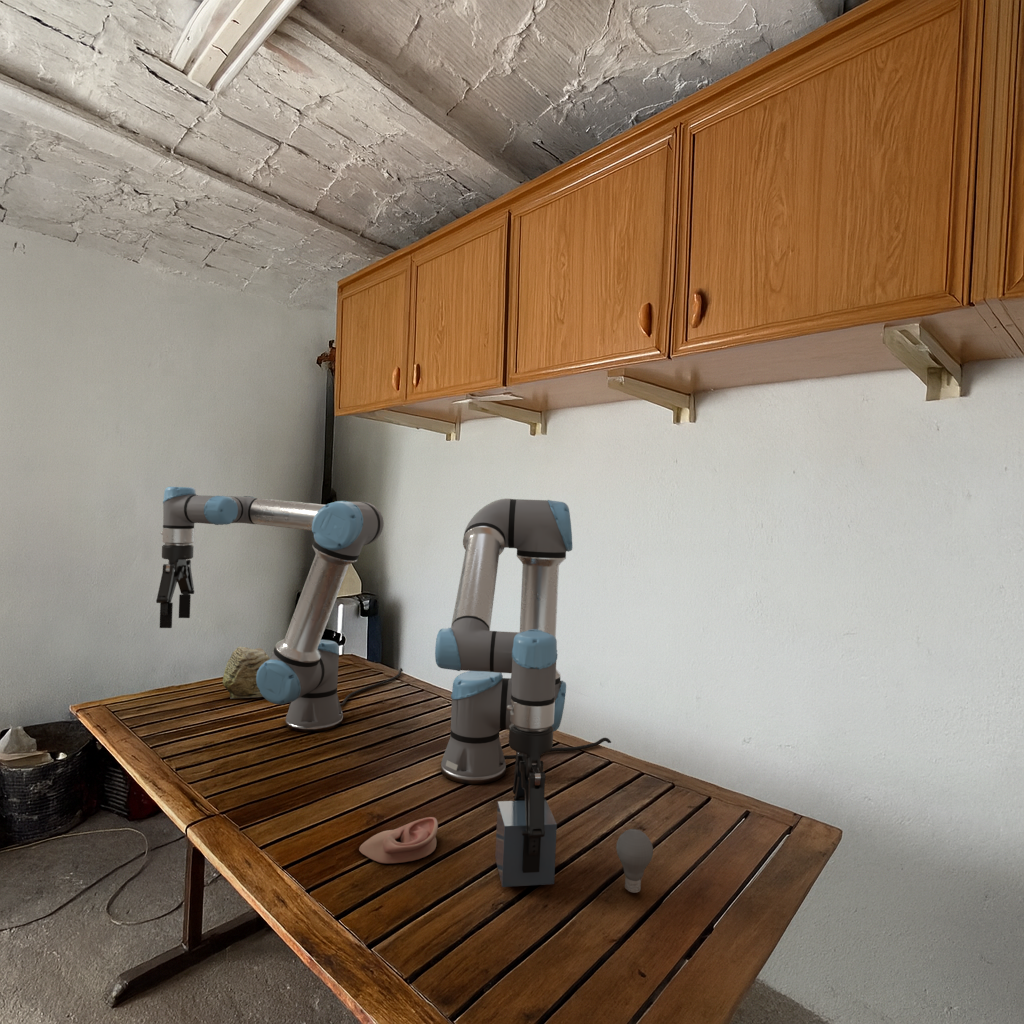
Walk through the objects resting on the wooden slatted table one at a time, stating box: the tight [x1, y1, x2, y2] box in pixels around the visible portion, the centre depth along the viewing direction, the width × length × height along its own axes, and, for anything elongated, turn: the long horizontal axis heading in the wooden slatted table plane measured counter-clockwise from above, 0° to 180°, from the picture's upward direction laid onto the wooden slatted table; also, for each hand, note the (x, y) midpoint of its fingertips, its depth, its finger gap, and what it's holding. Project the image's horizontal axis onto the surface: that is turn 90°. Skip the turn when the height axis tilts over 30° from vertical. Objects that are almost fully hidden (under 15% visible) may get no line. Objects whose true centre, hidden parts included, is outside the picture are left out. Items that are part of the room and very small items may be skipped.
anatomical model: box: [358, 816, 439, 864], centre depth 116 cm, size 13×4×12 cm
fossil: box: [222, 646, 271, 699], centre depth 198 cm, size 9×18×15 cm, turn 132°
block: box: [494, 799, 558, 888], centre depth 108 cm, size 8×9×10 cm
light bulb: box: [615, 828, 654, 894], centre depth 106 cm, size 6×6×10 cm
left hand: (175, 622), depth 171 cm, fingers open, 13 cm apart
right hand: (525, 855), depth 108 cm, fingers open, 9 cm apart
